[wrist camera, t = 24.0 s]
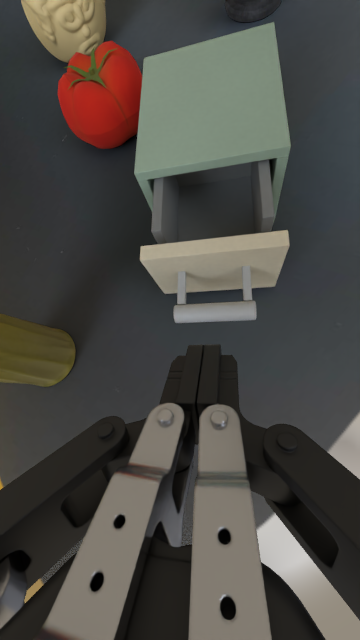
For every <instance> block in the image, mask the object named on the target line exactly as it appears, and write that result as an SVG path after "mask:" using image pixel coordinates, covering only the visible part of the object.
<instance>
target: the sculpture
mask: <svg viewBox="0 0 360 640" xmlns="http://www.w3.org/2000/svg"><path fill="white" fill-rule="evenodd" d="M21 2H22V6H23V9H24V12H25V14H26V17H27V19H28V21H29V23H30V25H31V27H32V29H33V31H34V32H35V34H36V36H37V37H38V39H39V40H40V41H41V43H42V44H43V45H44V47H45V48H46V49H47V50H48V51H49V52H50V53H51V54H52V55H53V56H55V57H56V58H57V59H59V60H61V61H63V62H66V63H69V60H70V59H71V58H72V57H73V55H74V54H75V53H76V52H79V53H82V54H85V55H87V56H91V52H92V50H93V48H94V52H95V50H96V49H97V48H98V46H99V45H101V44H102V43H103V41H104V38H105V32H106V13H105V0H21Z"/></svg>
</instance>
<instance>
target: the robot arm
mask: <svg viewBox="0 0 360 640" xmlns="http://www.w3.org/2000/svg"><path fill="white" fill-rule="evenodd" d="M195 444H199V450H198V475H197V477H196V479H195V488H194V512H193V538H192V544H191V545H186V546H181V544H182V532H183V527H182V524H183V515H184V509H185V504H186V499H187V494H188V489H189V484H190V479H191V474H192V469H193V454H194V446H195ZM251 491H253V492H256V493H258V494H260V495H262V496H264V498H265V500H266V502H267V503H268V504H269V506H270V507H271V508H272V510H273V511H274V512H275V513H276V515H277V516H278V517H279V518H280V520H281V521H282V522H283V523H284V525H285V526H286V527H287V529H288V530H289V531H290V532H291V534H292V535H293V536H294V537H295V539H296V540H297V541H298V542H299V544H300V545H301V546H302V548H303V549H304V550H305V551H306V553H307V554H308V555H309V556H310V558H311V559H312V560H313V562H314V563H315V564H316V565H317V567H318V568H319V569H320V570H321V572H322V573H323V574H324V575H325V577H326V578H327V579H328V581H329V582H330V583H331V584H332V586H333V587H334V588H335V589H336V590H337V592H338V593H339V595H340V596H341V597H342V598H343V600H344V601H345V602H346V603H347V605H348V606H349V607H350V608H351V610H352V611H353V612H354V614H355V615H356V616H357V617H358V619H359V620H360V479H358V478H357V477H356V476H355V475H353V474H352V473H351V472H350V471H349V470H347V468H345V467H344V466H343V465H342V464H341V463H339V462H338V461H337V460H336V459H334V458H333V457H332V456H331V455H330V454H329V453H327V452H326V451H325V450H324V449H323V448H321V447H320V446H319V445H318V444H317V443H315V442H314V441H313V440H312V439H311V438H309V437H308V436H307V435H306V434H305V433H303V432H302V431H301V430H299V429H298V428H296V427H294V426H291V425H288V424H276V425H273V426H271V427H269V428H268V429H265V428H262V427H259V426H256V425H254V424H252V423H250V422H249V421H247V420H246V419H245V418H244V417H243V416H242V414H241V412H240V409H239V395H238V373H237V362H236V360H235V359H234V357H233V356H232V355H221V345H220V344H217V345H205V346H204V345H189V346H188V349H187V353H186V356H178V357H177V358H176V359H175V360H174V361H173V362H172V364H171V367H170V370H169V374H168V377H167V380H166V384H165V387H164V390H163V394H162V397H161V400H160V404H159V405H158V406H156V407H155V408H153V409H152V410H151V412H150V413H149V415H148V417H147V418H146V419H144V420H141V421H137V422H133V423H129V424H125V423H124V421H123V420H122V419H121V418H119V417H117V416H109V417H106V418H103V419H101V420H99V421H98V422H96V423H95V424H93V425H92V426H91V427H89V428H88V429H86V430H85V431H83V432H82V433H81V434H79V435H78V436H76V437H75V438H74V439H72V440H71V441H69V442H68V443H66V444H65V445H64V446H62V447H61V448H59V449H58V450H56V451H55V452H54V453H52V454H51V455H49V456H48V457H47V458H45V459H44V460H42V461H41V462H39V463H38V464H37V465H35V466H34V467H32V468H31V469H29V470H28V471H27V472H25V473H24V474H22V475H21V476H19V477H18V478H17V479H15V480H14V481H12V482H11V483H10V484H8V485H7V486H5V487H4V488H2V489H1V490H0V640H325V638H324V637H323V635H322V633H321V632H320V630H319V629H318V627H317V626H316V624H315V622H314V621H313V619H312V618H311V616H310V615H309V613H308V611H307V610H306V609H305V607H304V605H303V604H302V602H301V601H300V600H299V598H298V597H297V596H296V594H295V593H294V592H293V590H292V589H291V588H290V587H289V586H288V585H287V584H286V582H285V581H284V580H283V579H282V578H281V577H280V576H279V575H277V574H276V573H275V572H274V571H273V570H271V569H270V568H269V567H267V566H266V565H264V564H263V563H262V562H261V560H260V553H259V545H258V539H257V531H256V524H255V517H254V510H253V503H252V496H251ZM84 536H85V537H84ZM83 537H84V539H83V541H82V544H81V546H80V548H79V550H78V552H77V553H76V554H75V555H73V556H72V557H71V558H70V559H69V560H68V561H67V562H66V563H65V564H64V565H63V566H62V567H61V568H60V569H59V570H58V571H57V572H56V573H55V574H54V575H53V576H52V577H51V578H50V579H49V580H48V581H47V582H46V583H45V584H44V585H43V586H42V587H41V588H40V589H39V590H38V591H37V592H36V593H35V594H34V595H33V596H32V597H31V598H30V599H29V600H28V601H27V602H26V603H24V599H25V596H26V591H27V590H28V589H29V588H30V587H31V586H32V585H33V584H34V583H35V582H36V581H37V580H38V579H40V578H41V577H42V576H43V575H44V574H45V573H46V572H47V571H48V570H49V569H50V568H51V567H52V566H53V565H54V564H55V563H56V562H57V561H59V560H60V559H61V558H62V557H63V556H64V555H65V554H66V553H67V552H68V551H69V550H70V549H71V548H72V547H73V546H74V545H75V544H77V543H78V542H79V541H80V540H81V539H82V538H83Z"/></svg>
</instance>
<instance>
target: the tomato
mask: <svg viewBox="0 0 360 640" xmlns="http://www.w3.org/2000/svg"><path fill="white" fill-rule="evenodd" d="M64 68H68V69H67V73H66V74H64V75H63V76H62V77H61V79H60V80H59V83H58V98H59V102H60V106H61V109H62V112H63V115H64V117H65V119H66V121H67V124H68V126H69V127H70V129H71V130H72V131H73V132H74V134H75V135H76V136H77V137H79V138H80V139H81V140H83V141H85V142H87V143H89V144H91V145H93V146H95V147H97V148H101V149H111V148H115V147H118V146H120V145H122V144H123V143H124V142H125V141H127V140H128V139H129V138H131V137H133V136H134V135H136V134H137V133H138V123H139V111H140V100H141V88H142V74H141V72H140V70H139V67H138V65H137V63H136V61H135V59H134V58H133V57H132V55H131V54H130V53H129V52H128V51H127V50H126V49H124V48H122V47H120V46H119V45H117V44H116V43H114V42H113V41H107V42H103V43H102V44H101V45H99V46H98V48H97V49H96V50H95V52H94V48H93V50H92V52H91V56H87V55H85V54H82V53H79V52H76V53H75V54H74V55H73V57H72V58H71V59H70V60H69V64H68V66H67V67H64Z"/></svg>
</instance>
